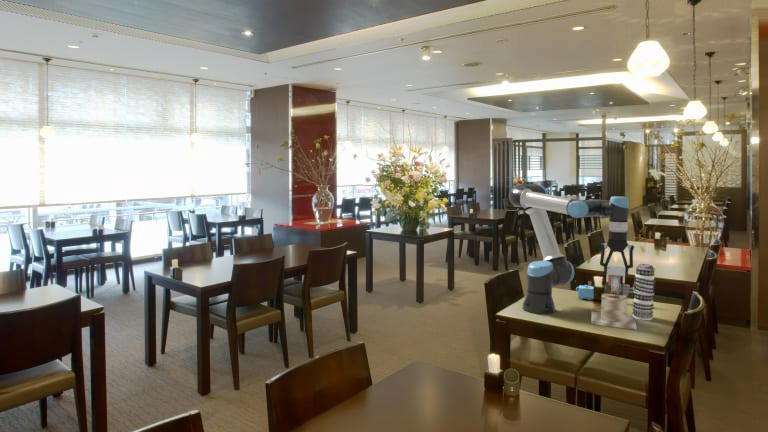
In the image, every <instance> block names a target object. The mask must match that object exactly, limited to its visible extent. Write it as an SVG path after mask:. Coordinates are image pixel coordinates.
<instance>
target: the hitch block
mask: <svg viewBox="0 0 768 432" xmlns="http://www.w3.org/2000/svg"><path fill="white" fill-rule="evenodd" d="M620 284H621V287H620V289H621V290H620V292H619V294H618V295H615V294H611V293H608V287H609V286H608V282H605V283H604V293H601V303H600V304H601V305H600V307H601V308H600V311H591V314H590V315H591V316H590V318H591V325H595V326H604V327H612V328H620V329H629V330H637V323H636V320H635V319H636V318H634V316H633V315H627V313H628V312H627V309H628V297H627V298H626V296H625V295H623V284H624V283H620Z"/></svg>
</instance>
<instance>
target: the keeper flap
mask: <svg viewBox="0 0 768 432" xmlns="http://www.w3.org/2000/svg"><path fill="white" fill-rule="evenodd" d="M621 277H622V276H620V278H619V287H620V284H621ZM611 281H612V275H609V276H608V282H607V283H608V286H607V287H611ZM620 288H621V287H620Z"/></svg>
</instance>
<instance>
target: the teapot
mask: <svg viewBox="0 0 768 432" xmlns="http://www.w3.org/2000/svg"><path fill="white" fill-rule="evenodd" d="M575 290H576V295H577V296H578V298H577V299H580V300H581V301H583V300H585V299H586V300H587V301H591V300H594V296H595V295H594V286H591V285H587V284H584V285H580V284H579V286H577V287H576V288H575Z"/></svg>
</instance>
